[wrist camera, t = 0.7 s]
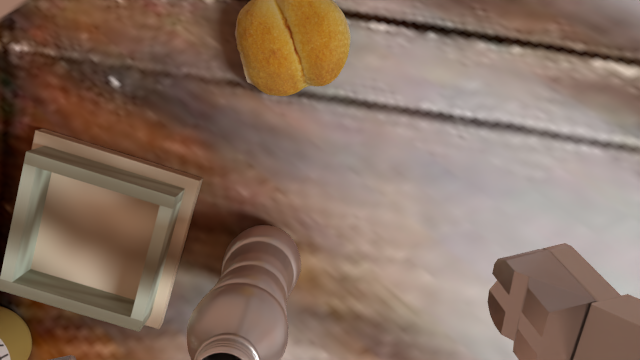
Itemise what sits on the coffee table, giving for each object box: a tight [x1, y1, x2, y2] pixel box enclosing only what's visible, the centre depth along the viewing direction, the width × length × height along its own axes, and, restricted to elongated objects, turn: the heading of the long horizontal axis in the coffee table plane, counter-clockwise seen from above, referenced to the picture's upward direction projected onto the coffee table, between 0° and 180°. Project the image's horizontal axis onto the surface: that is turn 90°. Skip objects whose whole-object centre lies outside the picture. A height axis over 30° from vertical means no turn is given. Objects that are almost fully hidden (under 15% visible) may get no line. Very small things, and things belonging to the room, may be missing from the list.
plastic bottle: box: [187, 225, 301, 360], centre depth 41 cm, size 6×7×20 cm
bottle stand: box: [0, 129, 203, 332], centre depth 49 cm, size 14×14×4 cm
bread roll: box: [235, 0, 350, 96], centre depth 45 cm, size 8×9×4 cm
